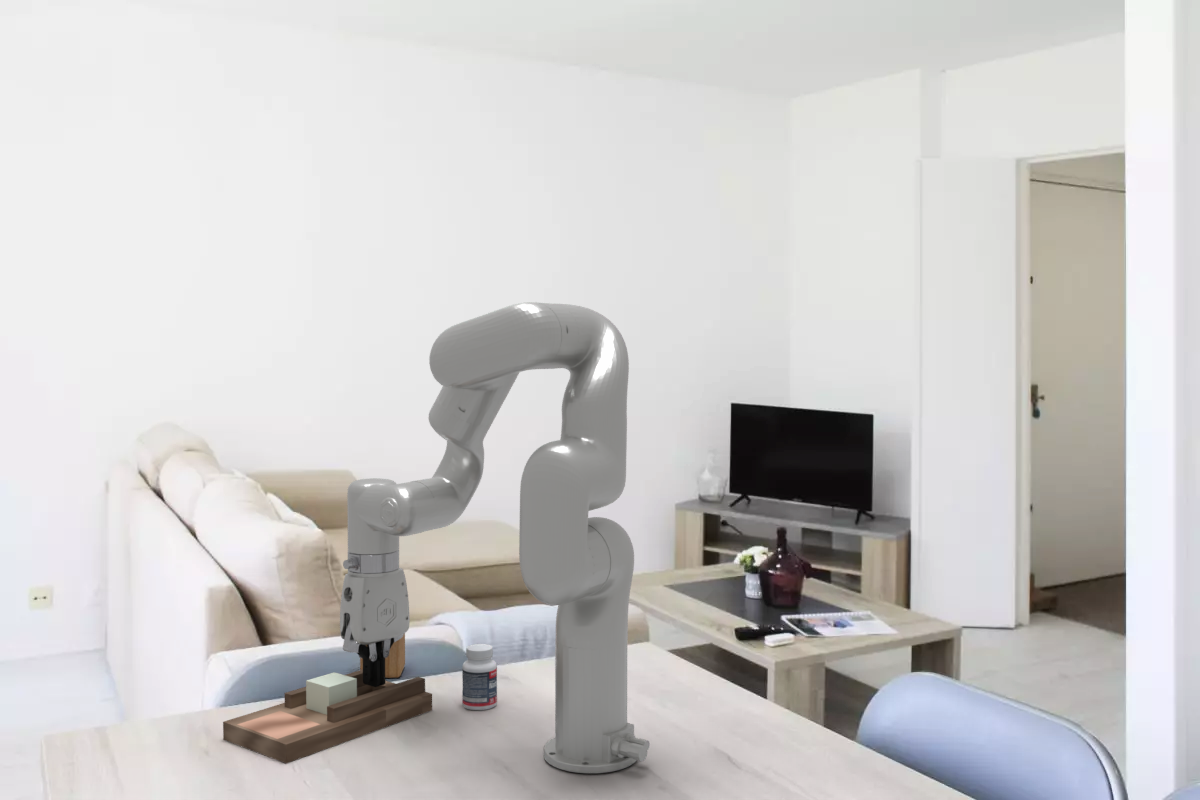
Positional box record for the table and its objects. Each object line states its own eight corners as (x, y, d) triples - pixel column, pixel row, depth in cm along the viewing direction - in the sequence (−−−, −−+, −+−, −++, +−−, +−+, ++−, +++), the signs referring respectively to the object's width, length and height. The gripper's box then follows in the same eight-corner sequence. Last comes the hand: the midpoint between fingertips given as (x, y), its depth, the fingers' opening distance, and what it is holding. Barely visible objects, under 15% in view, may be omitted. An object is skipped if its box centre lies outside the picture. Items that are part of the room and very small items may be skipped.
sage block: (356, 706, 154) (356, 678, 154) (328, 715, 150) (328, 687, 150) (334, 699, 157) (334, 672, 157) (306, 708, 153) (306, 680, 153)
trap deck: (432, 710, 160) (432, 680, 160) (286, 763, 139) (285, 729, 139) (369, 691, 169) (369, 663, 168) (223, 739, 148) (222, 707, 148)
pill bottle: (494, 711, 160) (494, 652, 159) (459, 711, 160) (459, 652, 159) (498, 699, 165) (498, 642, 165) (465, 699, 165) (464, 642, 165)
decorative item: (366, 667, 182) (365, 550, 181) (405, 666, 182) (404, 549, 181) (359, 679, 175) (358, 557, 174) (400, 678, 175) (399, 557, 175)
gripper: (350, 574, 151) (351, 702, 152) (428, 558, 163) (428, 677, 164) (316, 567, 156) (317, 691, 157) (394, 552, 168) (394, 667, 169)
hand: (374, 684), depth 160 cm, fingers closed
